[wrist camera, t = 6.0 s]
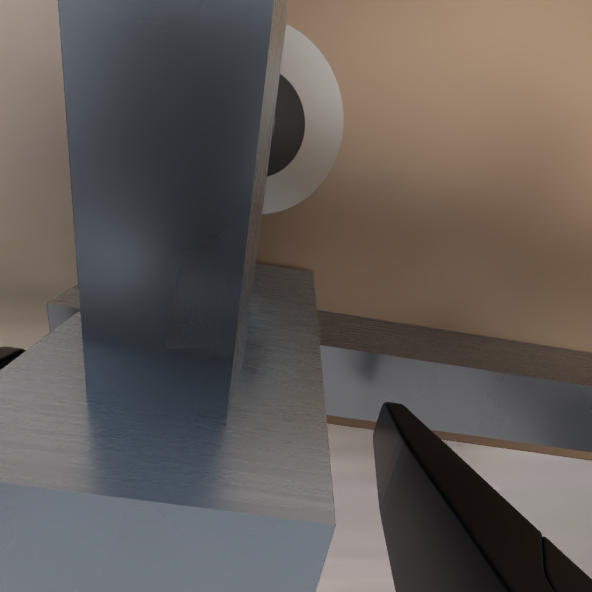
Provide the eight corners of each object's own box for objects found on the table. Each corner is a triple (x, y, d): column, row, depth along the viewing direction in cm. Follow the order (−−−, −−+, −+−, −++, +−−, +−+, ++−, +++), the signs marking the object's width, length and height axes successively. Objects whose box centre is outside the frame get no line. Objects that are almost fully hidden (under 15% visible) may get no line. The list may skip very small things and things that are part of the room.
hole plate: (781, 468, 14) (821, 496, 13) (114, 372, 13) (96, 394, 12) (1099, 123, 9) (1203, 120, 8) (98, -79, 8) (67, -113, 7)
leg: (287, 403, 11) (269, 741, 5) (159, 385, 11) (-33, 712, 5) (348, 90, 8) (528, -115, 2) (167, 57, 8) (-431, -326, 1)
